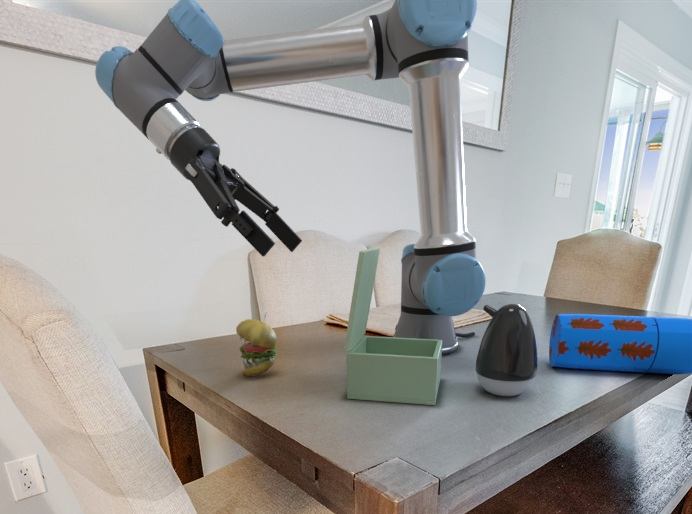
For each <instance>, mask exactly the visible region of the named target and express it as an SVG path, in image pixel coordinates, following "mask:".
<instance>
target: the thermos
mask: <svg viewBox="0 0 692 514" xmlns="http://www.w3.org/2000/svg"><path fill="white" fill-rule="evenodd" d="M550 329H551V330H550V335H549V343H548V344H549V345H548V360H549V364H550V366H551V367H553V368H563V369H572V370H573V369H574V370H590V371H591V370H592V371H606V372H607V371H609V372H624V373H625V372H627V373H645V374H661V375H690V374H692V318H687V317H669V316H645V315H644V316H642V315H641V316H639V315H616V314H615V315H612V314H592V313H591V314H588V313H586V314H585V313H558V314H556V315H555V316H554V319H553V321H552V325H551V328H550Z"/></svg>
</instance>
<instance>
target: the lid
mask: <svg viewBox="0 0 692 514" xmlns="http://www.w3.org/2000/svg"><path fill="white" fill-rule="evenodd" d="M380 251H381V247H377V246H375V247H371V248H367V249H364V250H359V252H358V258H357V264H356V271H355V278H354V283H353V290H352V296H351V302H350V309H349V314H348V322H347V328H346V335H345V339H344V340H345V341H344V347H343V351H345V352H346V351H347V352H348V351H349V350H350V349H351V348H352V347H353V346H354V345H355V344H356V343H357V342H358V341H359V340H360V339H361V338H362V337H363V336H365V335H366V331H367V326H368V320H369V315H370V309H371V302H372V297H373V292H374V291H373V290H374V287H375V286H374V285H375V280H376V274H377V268H378V263H379V258H380V257H379V256H380V253H381V252H380Z"/></svg>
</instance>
